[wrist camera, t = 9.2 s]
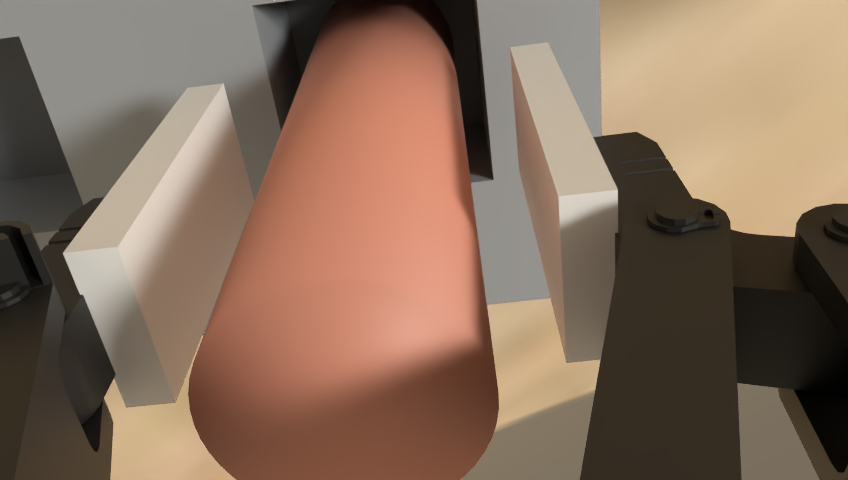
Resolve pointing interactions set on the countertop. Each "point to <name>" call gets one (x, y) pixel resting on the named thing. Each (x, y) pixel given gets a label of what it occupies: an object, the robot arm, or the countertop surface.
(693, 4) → the countertop surface
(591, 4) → the bore block
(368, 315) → the dowel
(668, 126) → the countertop surface
